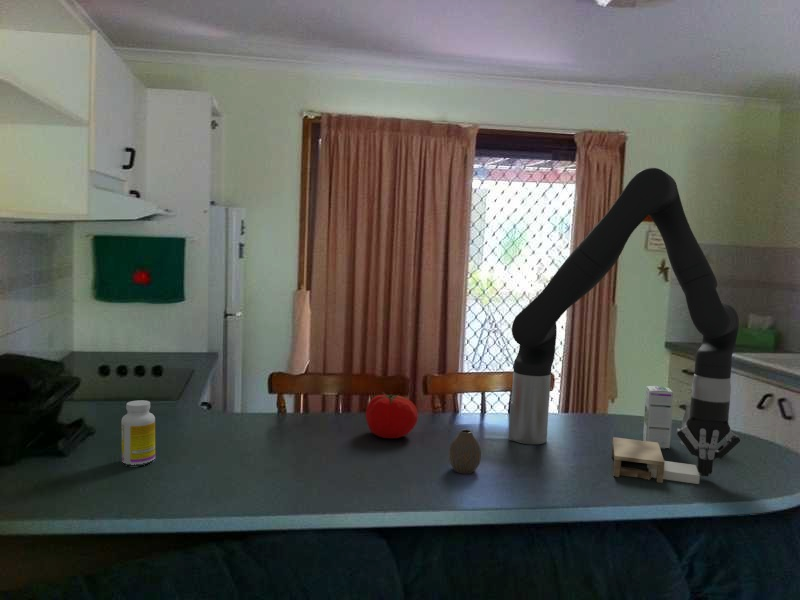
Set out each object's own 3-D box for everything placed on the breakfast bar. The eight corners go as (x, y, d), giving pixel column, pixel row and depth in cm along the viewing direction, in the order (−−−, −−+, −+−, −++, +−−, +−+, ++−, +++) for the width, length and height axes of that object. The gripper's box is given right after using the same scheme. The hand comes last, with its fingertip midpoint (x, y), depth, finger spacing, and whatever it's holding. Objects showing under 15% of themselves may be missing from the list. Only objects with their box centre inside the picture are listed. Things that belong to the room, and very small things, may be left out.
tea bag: (713, 449, 161) (717, 410, 160) (686, 448, 161) (690, 409, 160) (706, 444, 165) (709, 406, 164) (680, 443, 165) (683, 405, 164)
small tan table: (613, 476, 139) (614, 455, 139) (611, 456, 153) (612, 437, 152) (662, 483, 137) (664, 462, 136) (656, 461, 150) (658, 442, 150)
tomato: (354, 434, 162) (355, 393, 161) (387, 425, 171) (388, 385, 170) (394, 447, 153) (396, 403, 152) (426, 436, 162) (428, 395, 161)
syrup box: (670, 449, 160) (675, 391, 158) (645, 446, 161) (649, 389, 159) (665, 442, 165) (670, 386, 164) (641, 440, 166) (645, 384, 165)
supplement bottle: (162, 460, 139) (162, 401, 137) (137, 469, 133) (137, 408, 131) (139, 454, 141) (139, 397, 140) (114, 463, 135) (114, 404, 134)
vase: (459, 478, 135) (461, 437, 134) (442, 467, 141) (444, 428, 140) (486, 473, 138) (488, 434, 137) (468, 463, 144) (470, 425, 143)
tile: (648, 479, 140) (649, 468, 140) (646, 469, 147) (647, 458, 146) (698, 487, 137) (699, 475, 137) (694, 475, 144) (695, 465, 143)
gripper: (679, 397, 136) (673, 476, 138) (748, 403, 133) (741, 485, 134) (675, 389, 144) (669, 465, 145) (740, 395, 140) (734, 473, 141)
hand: (704, 474), depth 140 cm, fingers closed
